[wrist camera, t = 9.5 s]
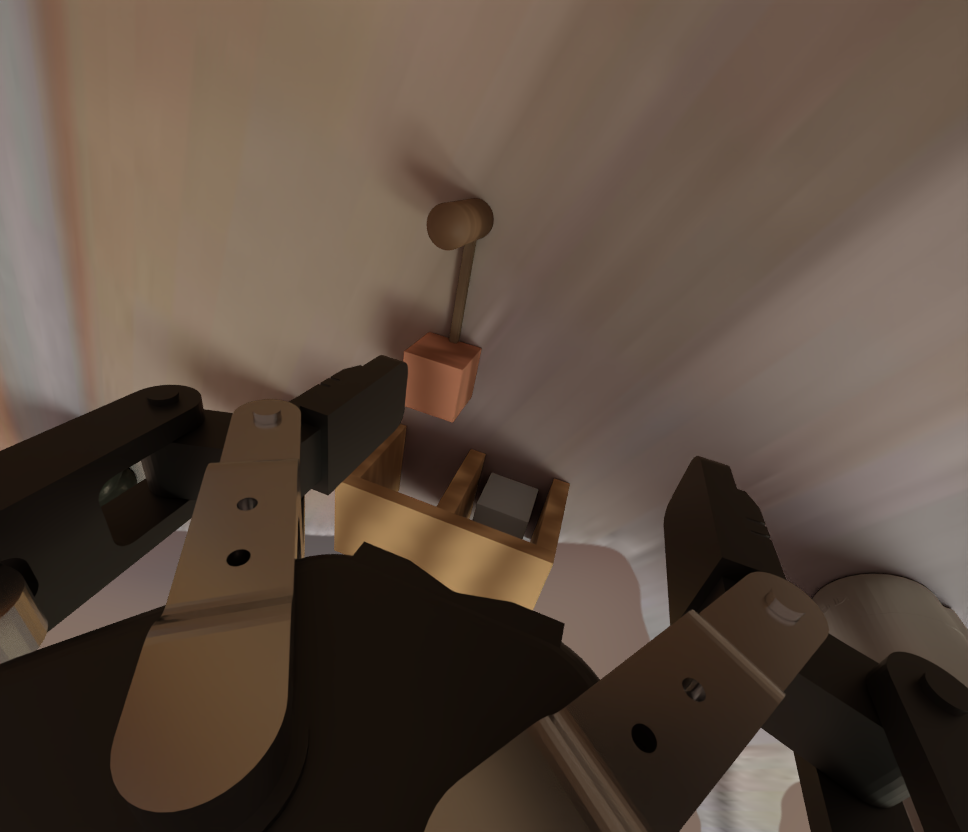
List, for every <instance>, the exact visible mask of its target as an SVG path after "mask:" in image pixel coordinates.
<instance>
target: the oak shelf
mask: <svg viewBox="0 0 968 832" xmlns="http://www.w3.org/2000/svg"><path fill="white" fill-rule="evenodd" d="M406 427H407V426H405V425H402V424H400V425H399V426H398V428H397V429H396V430H395V431H394V432H393V433H392V434H391V435H390V436H389V437H388V438H387V439H386V440H385V441H384V442H383V443H382V444H381V445H380V446H379V447H378V448H377V449H376V450H375V451H374V452H373V453H372V454H371V455H370V456H368V457H367V458H366V459H365V460H364V461H363V462H362V463H361V464H360V465H359V466H358V467H357V468H356V469H355V470H354V471H353V472H352V473H351V474H350V475H349V476H348V477H347V478H346V479H345V480H344V481H343V482H342V483H341V484H340V485H339V486H338V487H337V488H336V489H335V544H334V550H335V551H338V552H340V553H342V554H345V555H354V553H355V552H356V551H357V550H358V548H359V547H360V546H361V545H362V543H363V542H367V543H369V544H372V545H374V546H377V547H379V548H381V549H384V550H386V551H389V552H391V553H394V554H396V555H399V556H401V557H403V558H406V559H408V560H410V561H412V562H413V563H415V564H416V565H417V566H419V567H420V568H421V569H423V570H424V571H426V572H427V573H428V574H430V575H431V576H433V577H434V578H435V579H437V580H438V581H439V582H441V583H442V584H444V585H445V586H446V587H448V588H449V589H451V590H452V591H455V592H457V593H462V594H468V595H474V596H480V597H486V598H492V599H497V600H503V601H509V602H513V603H516V604H518V605H521V606H523V607H525V608H528V609H530V610H533V609H534V606H535V604H536V601H537V599H538V597H539V595H540V593H541V590H542V588H543V586H544V584H545V581H546V579H547V577H548V574H549V572H550V570H551V568H552V565H553V562H554V557H555V553H556V547H557V543H558V539H559V534H560V529H561V524H562V519H563V515H564V510H565V505H566V500H567V496H568V491H569V486H570V484H569V483H566V482H563V481H560V480H557V479H555V478H554V480H553V482H552V485H551V488H550V490H549V493H548V496H547V498H546V501H545V504H544V506H543V509H542V512H541V514H540V517H539V519H538V522H537V525H536V527H535V530H534V533H533V535H532V538H531V541H530V542H527V541H525V540H522V539H520V538H517V537H514V536H512V535H509V534H506V533H504V532H501V531H499V530H496V529H493V528H491V527H488V526H485V525H483V524H480V523H478V522H475V521H472V520H470V519H469V518H470V514H471V511H472V507H473V503H474V499H475V495H476V491H477V487H478V483H479V479H480V475H481V471H482V467H483V463H484V459H485V455H486V454H484V453H481V452H478V451H476V450H473V449H471V450H470V451H469V453H468V455H467V456H466V458H465V460H464V461H463V463H462V465H461V466H460V468H459V470H458V471H457V473H456V475H455V476H454V478H453V480H452V481H451V483H450V485H449V486H448V488H447V490H446V491H445V493H444V495H443V496H442V498H441V500H440V502H439V503H438V505H437V507H436V506H433V505H430V504H428V503H425V502H422V501H420V500H417V499H415V498H412V497H409V496H407V495H404V494H401V493H399V492H398V491H399V485H400V477H401V469H402V461H403V452H404V444H405V436H406Z"/></svg>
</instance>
